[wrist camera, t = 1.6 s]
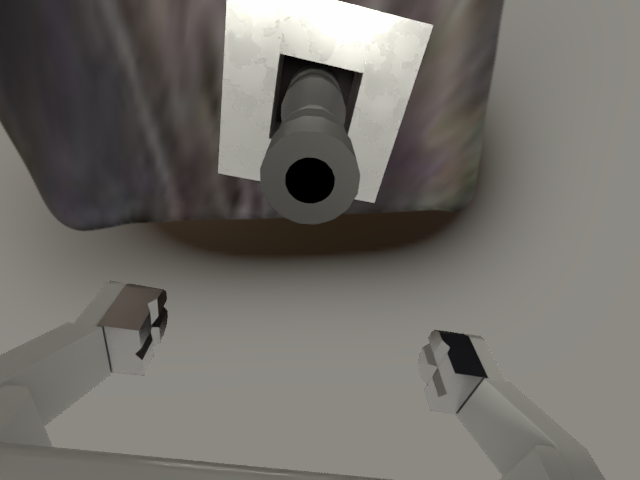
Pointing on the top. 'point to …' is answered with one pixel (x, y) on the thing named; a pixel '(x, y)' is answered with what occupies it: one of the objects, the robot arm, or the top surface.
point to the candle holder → (311, 152)
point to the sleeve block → (323, 47)
